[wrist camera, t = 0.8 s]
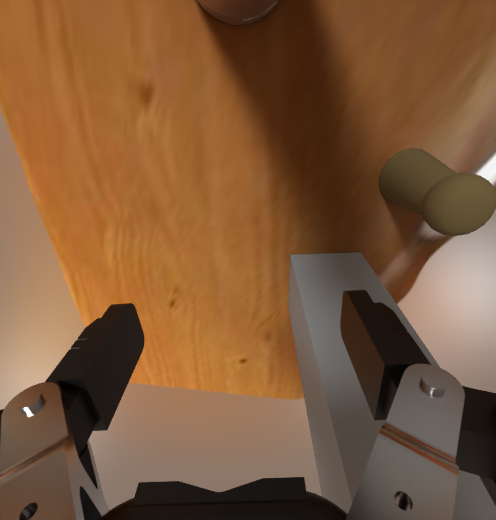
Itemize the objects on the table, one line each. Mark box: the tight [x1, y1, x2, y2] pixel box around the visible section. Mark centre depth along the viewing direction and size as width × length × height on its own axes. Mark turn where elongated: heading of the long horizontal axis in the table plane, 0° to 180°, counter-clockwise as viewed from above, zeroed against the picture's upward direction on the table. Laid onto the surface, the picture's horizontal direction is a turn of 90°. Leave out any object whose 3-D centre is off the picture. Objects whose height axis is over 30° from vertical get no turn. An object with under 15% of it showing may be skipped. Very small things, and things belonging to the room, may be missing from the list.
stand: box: [289, 252, 496, 520], centre depth 26 cm, size 9×9×32 cm
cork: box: [379, 148, 496, 236], centre depth 28 cm, size 6×6×11 cm
